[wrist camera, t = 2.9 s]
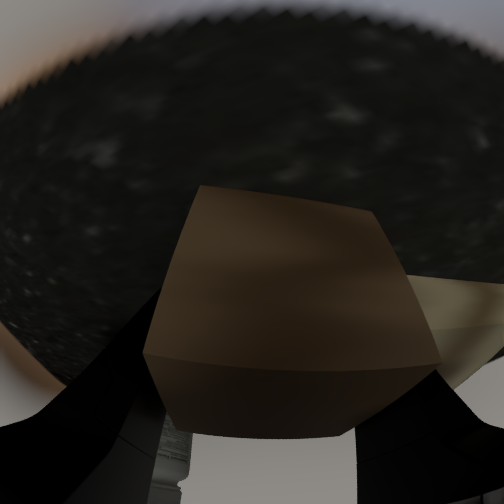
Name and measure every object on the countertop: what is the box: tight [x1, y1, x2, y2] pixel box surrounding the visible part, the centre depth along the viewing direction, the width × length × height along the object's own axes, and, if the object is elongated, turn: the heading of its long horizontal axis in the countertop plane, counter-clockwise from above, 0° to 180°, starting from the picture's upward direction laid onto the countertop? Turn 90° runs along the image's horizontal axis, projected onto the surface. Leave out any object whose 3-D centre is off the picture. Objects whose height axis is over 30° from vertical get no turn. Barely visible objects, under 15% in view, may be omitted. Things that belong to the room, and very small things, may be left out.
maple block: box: [406, 275, 504, 390], centre depth 12 cm, size 9×9×3 cm
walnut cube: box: [143, 185, 442, 439], centre depth 7 cm, size 5×5×5 cm
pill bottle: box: [147, 412, 193, 504], centre depth 12 cm, size 5×5×8 cm
